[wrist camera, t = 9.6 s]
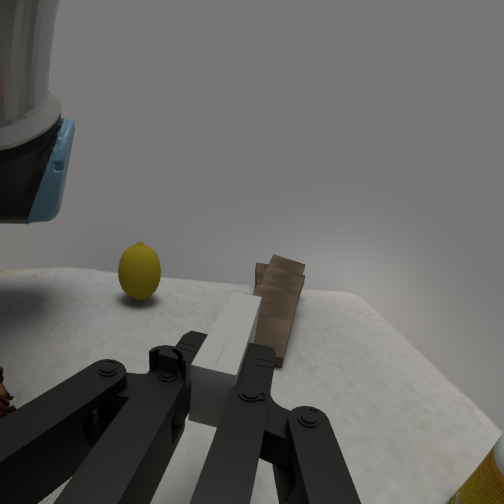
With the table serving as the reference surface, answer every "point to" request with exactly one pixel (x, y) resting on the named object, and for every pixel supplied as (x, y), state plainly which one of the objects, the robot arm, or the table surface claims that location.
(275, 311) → the domino
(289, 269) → the domino
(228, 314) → the robot arm
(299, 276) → the domino
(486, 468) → the supplement bottle
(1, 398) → the dragon fruit
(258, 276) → the domino
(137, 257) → the lemon
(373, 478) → the table surface
